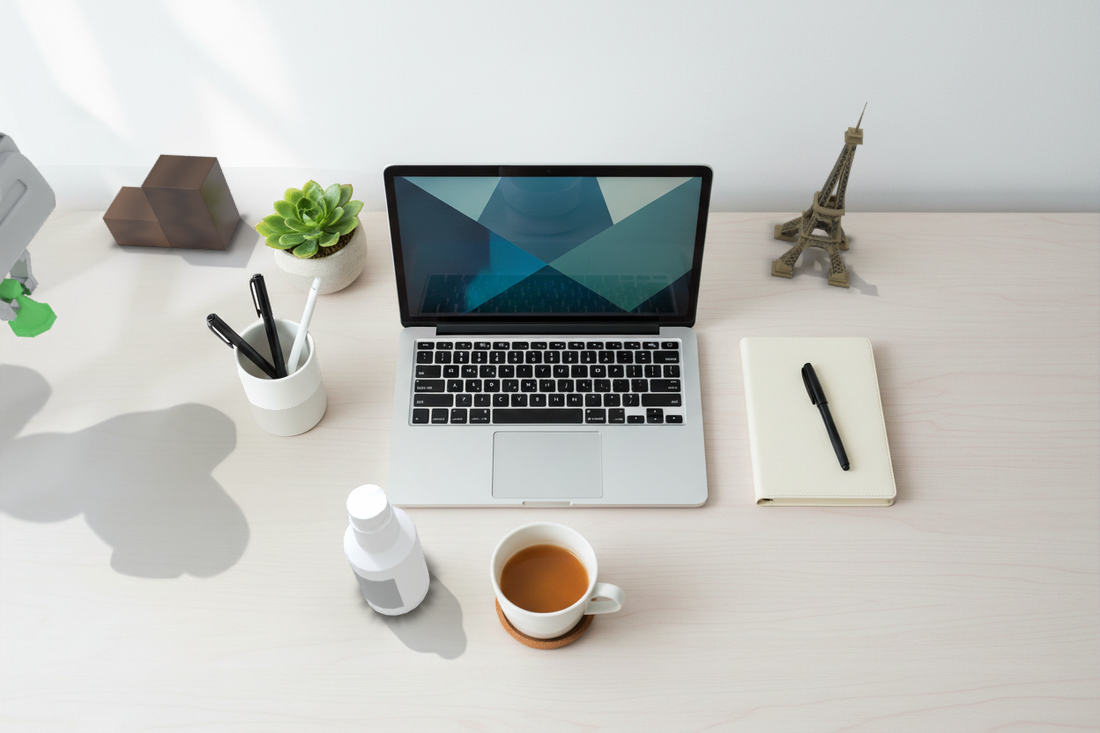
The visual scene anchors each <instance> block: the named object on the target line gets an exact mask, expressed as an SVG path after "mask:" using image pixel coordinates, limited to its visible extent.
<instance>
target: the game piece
mask: <svg viewBox="0 0 1100 733" xmlns="http://www.w3.org/2000/svg"><path fill="white" fill-rule="evenodd" d="M22 292H23V290H22V288H21V286H20V284H19V282H18V280H16V279H10V278H6V277H5V278H4V280H3V281H2V282H1V284H0V298H4V299H11V298H15V300H16V301H17V302H18V306H21V308H22V309H21V311H20V313H19V314H18V316H17V317H16V319H15V320H14V321H7V324H8V325H9V327H10V329H11V330H12V332H13V333H14V335H15V336H16V337H18V338H20V337H21V338H35V337H38V336H39V335H41V334H43V333H45V332H47V331H50V330H51V329H52V326H53V325H54V323H55V322H56V320H57V319H58V316H57V315H56V312H55V311H54V310H53V309H52V307H51V306H50V305H49V303H48V302H38V301H36V300H35V299H32V298H31V297H29V296H27V295H26V294H25V295H23V294H21V293H22Z"/></svg>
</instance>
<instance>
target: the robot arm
mask: <svg viewBox="0 0 1100 733" xmlns="http://www.w3.org/2000/svg"><path fill="white" fill-rule="evenodd" d="M56 200H57V199H56V194H55V191H54V189H53V188H52V187H51V185H50V184H49V182H48V181H47V179H46V178H45V177H44V176H43V174H42V173H41V172H40V170H39V169H38V168H37V167H36V166H35V165H34V164H33V162H32V161H31V160H30V159H29V158H28V157H27V156H25V155H24V154H22V152H21V150H20V149H19V147H18V146H17V143H15V141H14V139H13V138H12V137H11V136H10V135H9V134H6V133H4V132H1V131H0V284H1V282H2V281H3V280H4V278H6V277H7V276H8V274H9V275H10V277H9V279H16V280H18V282H19V284H20V286H21V288H22V290H23V292H22V293H21V294H23V295H25V296H27V297H29V296H32V295H33V293H34V292H35V290H36V289H37V288H38V286H39V282H38V280H37V279H36V277H35V276H34V275H33V268H32V260H31V253H30V251H29V250H28V246H29V245H30V243H31V242H32V241H33V239H34V238H35V236H36V235H37V234H38V232H39V231H40V230H41V229H42V227H43V225H44V224H45V223H46V221H47V219H48V218H49V217H50V215H51V214H52V213H53V211H54V210H55V208H56V206H57V201H56ZM21 309H22V308H21V306H18V302H17V301H16V300H15V298H11V299H4V298H0V321H5V322H6V321H7V322H8V321H14V320H15V319H16V317H17V316H18V314H19V313H20V311H21Z"/></svg>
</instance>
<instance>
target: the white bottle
mask: <svg viewBox="0 0 1100 733" xmlns="http://www.w3.org/2000/svg"><path fill="white" fill-rule="evenodd" d="M346 510H347V513H348V521H349V524H348V526H347V528H346V529H345V533H344V537H343V541H342V545H343V552H344V555H345V557H346V559H347V562H348V563H349V566H350V568H351V570H352V572H353V574H354V576H355V579H356V581H357V583H358V584H359V587H360V590H361V591H362V594H363V596H364V599H365V600H366V602H367V604H368V606H370V607H371V608H372V609H373V610H374V611H376V612H378V613H380V614H382V615H385V616H399V615H404V614H407V613H409V612H410V611H413V610H414V609H416V608H417V607H418V606H419V605H420V604H421V603H422V602H423V601H424V599H425V598H426V596H427V593H428V591H429V589H430V582H431V581H430V580H431V579H430V573H429V569H428V566H427V562H426V558H425V555H424V551H423V547H422V544H421V540H420V537H419V533H418V530H417V527H416V524H415V522H414V520H413V519H412V518H411V516H410V515H409V514H408V513H407V512H405V511H404V510H403V509H401V508H399V507H396V506H393V505H392V503H391V501H390V499H388V497H387V495H386V493H385V491H384V489H382V488H381V487H380V486H378V485H375V484H363V485H360V486H358V487H356V488H354V489H353V490H352V491H351V492H350V493H349V496H348V497H347V500H346Z"/></svg>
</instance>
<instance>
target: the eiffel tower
mask: <svg viewBox="0 0 1100 733" xmlns="http://www.w3.org/2000/svg"><path fill="white" fill-rule="evenodd" d="M867 104H868V102H867V101H866V102H865V105H864V108H863V110H862V112H861V115H860V117H859V119H858V122H857V124H856V127H851V126H848V127H847V130H845V131H844V145H843V147H842V149H841V151H840V153H839V155H838V157H837V159H836V161H835V164H834V165H833V167H832V169H831V170H830V172H829V175H828V176H827V179H826V180H825V183H823V186H822V188H821V190H816V191H815V193H814V194H813V201H812V204H811V205H810V207H809V208H808V209H807V210H802V213H801V216H799V217H796V218H794V219H791V220H789V221H786V222H784V223H782V224H781V225H780V224H775V226H774V236H773V239H775V240H781V241H787V242H794V241H795V236H796V235H797V243H796V244H795V245H794V246H792V247H791V248H790V249H789V250H787V251H785V252H784V253H783V254H782V255H781V256H779V257H778V258H776V260H772V263H771V272H770V273H771V274H770V275H771V276H773V277H778V278H785V279H792V277H793V269H794V266H795V264H796V263H797V261H798V259H799V257H800V256H801V254H802V252H803V251H804V250H806V249H811V248H818V249H821V250H824V251H825V252H826V253H828V255H829V263H830V267H828V271H827V285H828V286H833V287H841V288H847V289H849V287H850V272H848V271H847V267H846V265H845V263H844V261H843V258H842V255H841V251H840V250H844V251H849V249H850V244H849V243H850V242H849V241H850V240H849V235H846V232H845V230H844V229H843V227H842V217H843V216H844V217H845V216H846V192H847V187H848V182H849V178H850V174H851V170H852V167H853V162H854V158H855V154H856V151H857V148H858V145H859V146H861V145H862V146H863V145H864V128H860V126H861V123H862V119H863V116H864V112H865V109H866V107H867ZM836 186H837V188H836ZM835 188H836V192H835V194H833V192H834V190H835ZM814 230H821V231H824V232H825V233H826V234H827V235H828V236H827V235H819V234H813V233H814Z"/></svg>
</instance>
